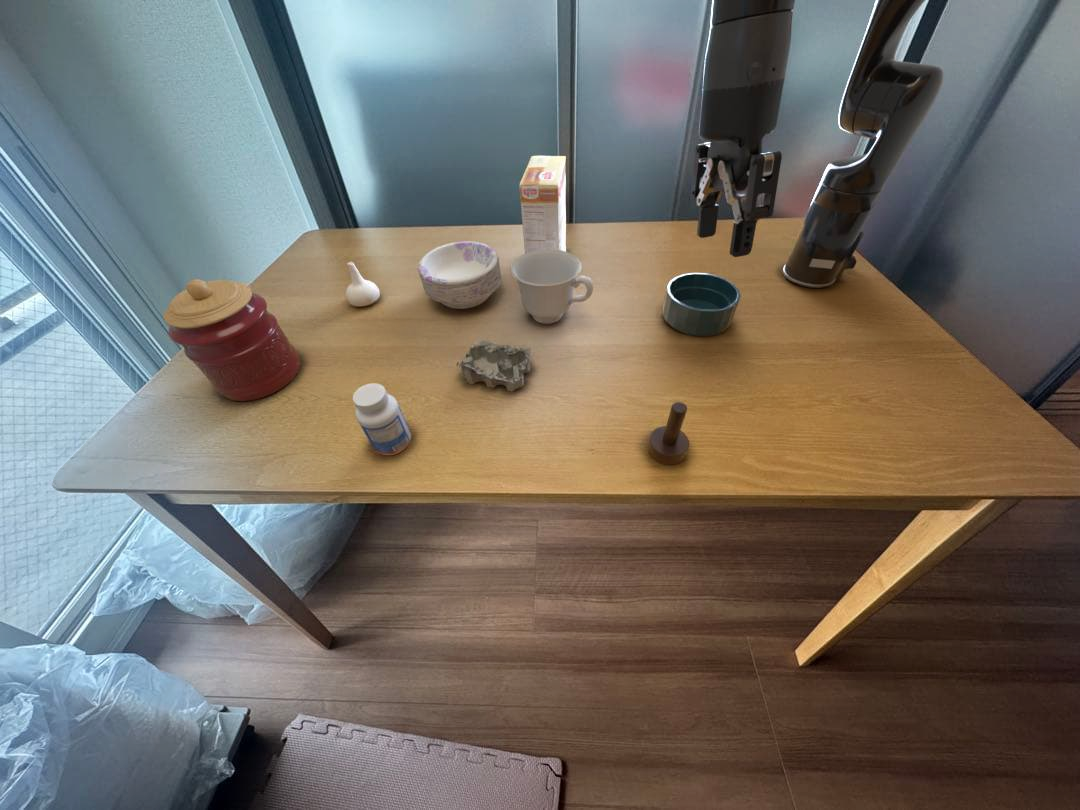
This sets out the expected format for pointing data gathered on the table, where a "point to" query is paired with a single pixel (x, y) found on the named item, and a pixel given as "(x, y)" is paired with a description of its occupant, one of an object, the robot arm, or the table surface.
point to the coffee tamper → (670, 438)
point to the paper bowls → (460, 274)
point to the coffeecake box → (544, 203)
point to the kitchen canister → (232, 338)
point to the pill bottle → (381, 419)
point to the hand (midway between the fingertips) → (721, 245)
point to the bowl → (700, 303)
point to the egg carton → (496, 364)
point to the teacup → (549, 283)
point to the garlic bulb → (360, 289)
